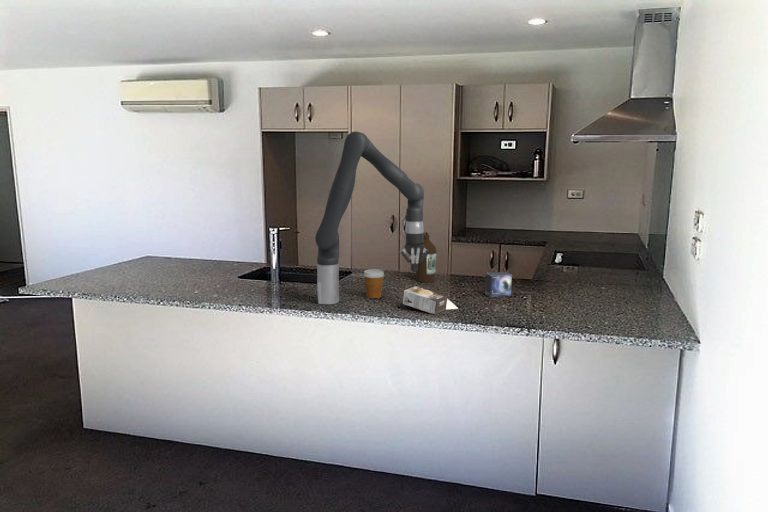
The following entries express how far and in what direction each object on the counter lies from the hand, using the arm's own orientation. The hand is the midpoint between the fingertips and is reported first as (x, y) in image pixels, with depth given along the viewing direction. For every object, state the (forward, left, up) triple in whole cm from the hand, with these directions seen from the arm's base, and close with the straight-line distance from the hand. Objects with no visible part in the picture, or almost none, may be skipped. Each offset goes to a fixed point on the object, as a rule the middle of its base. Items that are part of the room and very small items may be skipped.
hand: (414, 271), depth 248 cm
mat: (+9, 0, -15) cm, 17 cm away
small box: (+41, +9, -15) cm, 45 cm away
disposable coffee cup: (-15, +17, -15) cm, 27 cm away
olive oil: (+16, +45, -15) cm, 50 cm away
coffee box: (-3, -2, -9) cm, 10 cm away
